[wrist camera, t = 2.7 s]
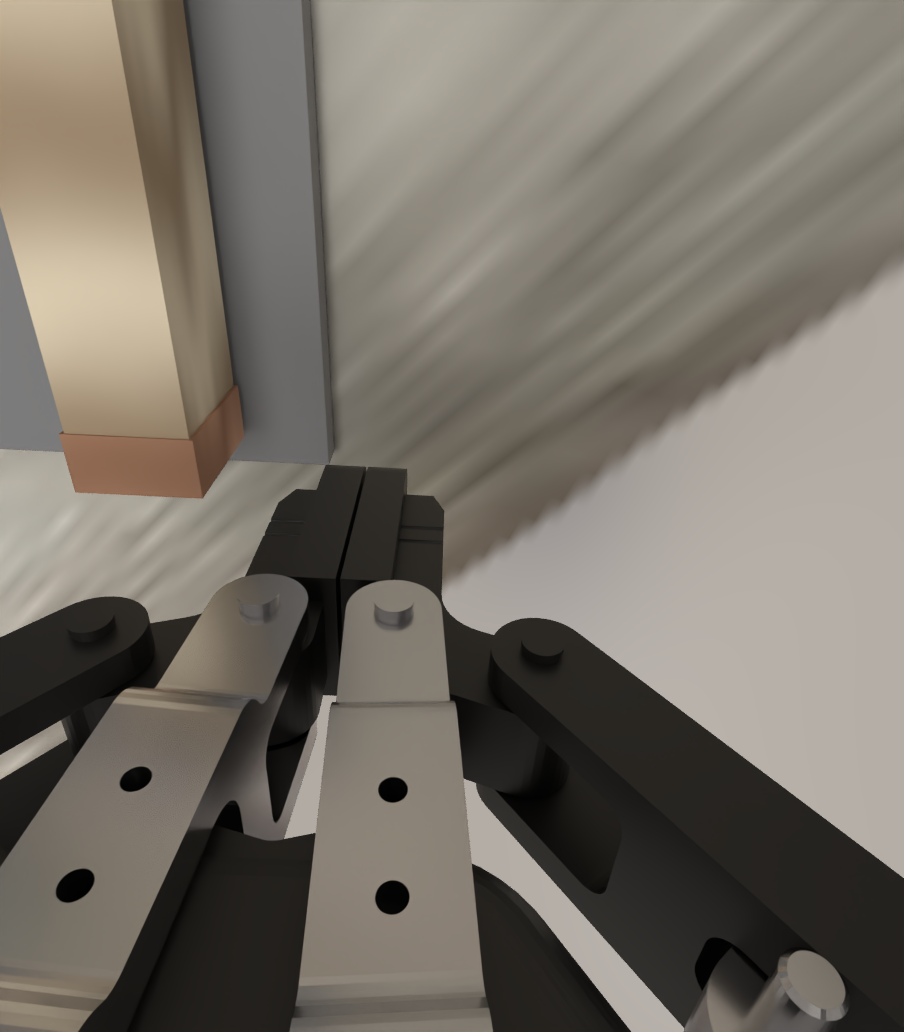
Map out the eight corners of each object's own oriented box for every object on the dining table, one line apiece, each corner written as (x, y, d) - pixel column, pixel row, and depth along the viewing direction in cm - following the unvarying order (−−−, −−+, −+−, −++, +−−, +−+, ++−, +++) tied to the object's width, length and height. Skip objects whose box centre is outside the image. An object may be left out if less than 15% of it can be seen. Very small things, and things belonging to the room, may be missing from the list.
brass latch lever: (-163, -750, 10) (-449, -1138, 7) (133, -734, 10) (-21, -1115, 7) (117, 430, 20) (51, 490, 17) (264, 437, 20) (226, 499, 17)
